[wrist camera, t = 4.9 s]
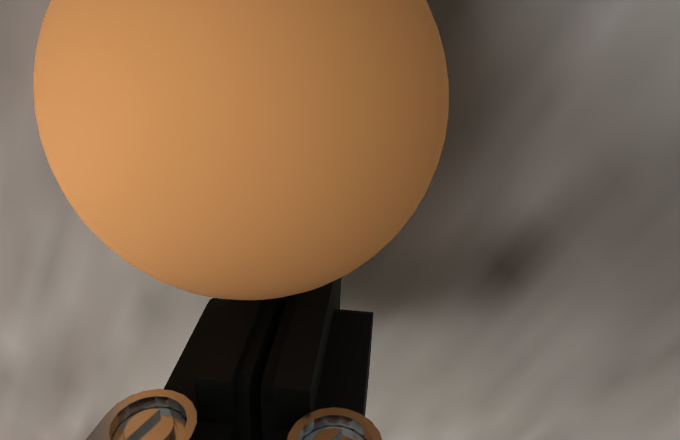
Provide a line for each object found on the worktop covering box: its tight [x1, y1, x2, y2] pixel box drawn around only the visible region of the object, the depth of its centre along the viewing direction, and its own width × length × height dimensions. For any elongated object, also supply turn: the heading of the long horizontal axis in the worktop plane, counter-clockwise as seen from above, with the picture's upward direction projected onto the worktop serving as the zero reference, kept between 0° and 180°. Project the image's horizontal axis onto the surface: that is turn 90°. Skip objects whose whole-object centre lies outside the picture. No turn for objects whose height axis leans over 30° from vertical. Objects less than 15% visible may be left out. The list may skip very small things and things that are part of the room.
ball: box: [33, 0, 449, 300], centre depth 8 cm, size 6×6×6 cm
